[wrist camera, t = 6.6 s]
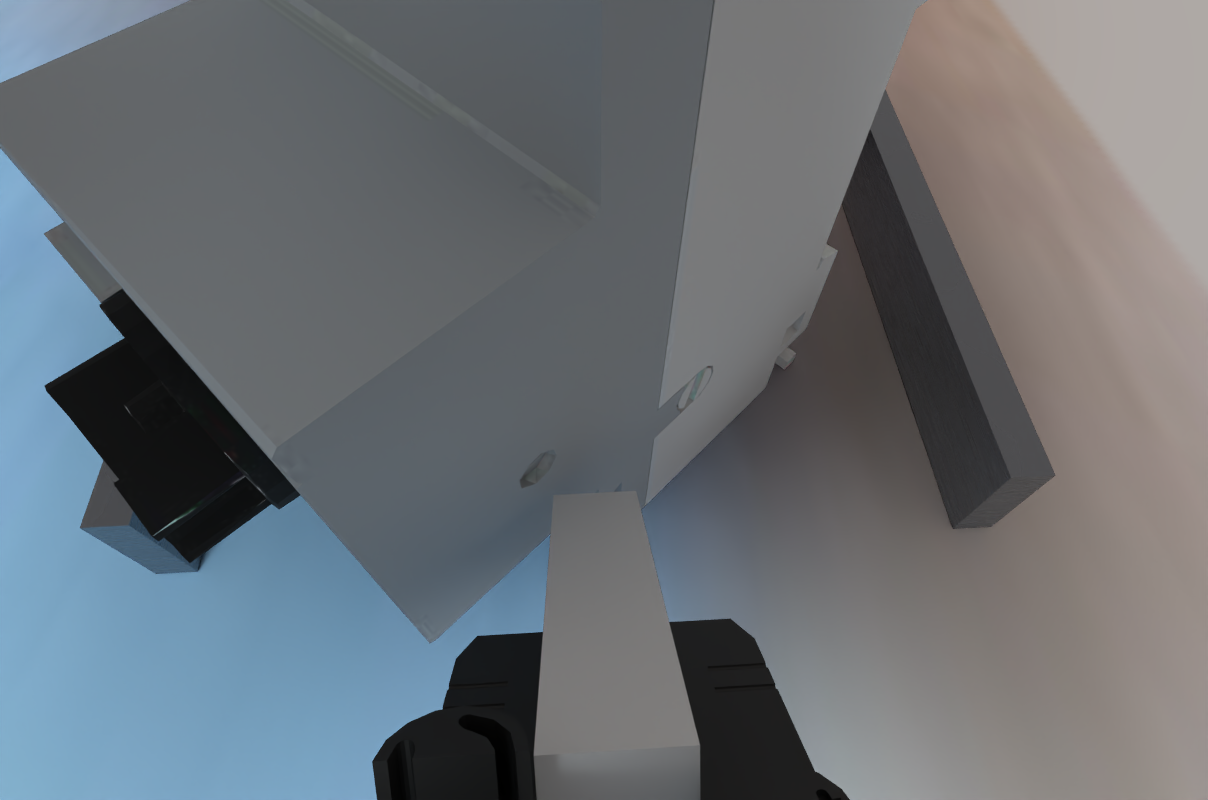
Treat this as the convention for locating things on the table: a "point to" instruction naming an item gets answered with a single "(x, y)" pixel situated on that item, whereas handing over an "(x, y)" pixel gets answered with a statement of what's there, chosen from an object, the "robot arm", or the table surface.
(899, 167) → the lockout stall
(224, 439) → the circuit breaker
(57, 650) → the table surface
